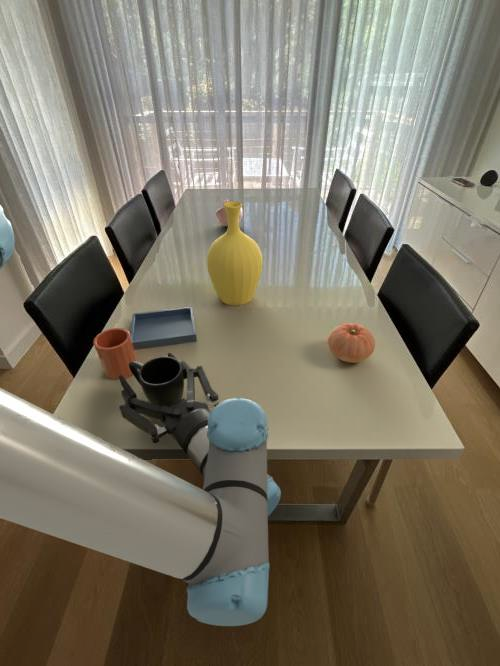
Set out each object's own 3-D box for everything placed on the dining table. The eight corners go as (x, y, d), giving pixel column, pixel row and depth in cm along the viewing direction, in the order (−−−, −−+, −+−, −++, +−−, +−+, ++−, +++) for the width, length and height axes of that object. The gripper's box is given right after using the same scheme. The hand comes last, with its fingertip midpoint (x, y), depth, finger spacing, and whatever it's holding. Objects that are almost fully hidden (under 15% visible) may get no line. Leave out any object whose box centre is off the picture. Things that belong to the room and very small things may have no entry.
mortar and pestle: (234, 220, 161) (233, 194, 154) (247, 227, 153) (247, 201, 146) (211, 224, 156) (210, 199, 149) (224, 232, 147) (223, 206, 141)
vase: (231, 279, 114) (227, 192, 97) (271, 293, 106) (275, 201, 89) (199, 300, 103) (188, 206, 86) (241, 317, 96) (239, 218, 79)
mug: (152, 378, 77) (143, 346, 71) (195, 397, 72) (190, 364, 66) (125, 403, 71) (114, 369, 65) (170, 425, 66) (163, 391, 61)
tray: (131, 350, 85) (129, 343, 83) (134, 320, 95) (132, 313, 94) (197, 341, 87) (196, 334, 86) (192, 313, 98) (192, 306, 96)
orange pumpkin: (380, 356, 82) (387, 329, 77) (353, 377, 77) (360, 350, 72) (343, 335, 89) (348, 310, 84) (316, 353, 83) (320, 327, 78)
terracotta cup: (102, 382, 76) (90, 351, 70) (106, 360, 82) (96, 330, 76) (137, 377, 77) (128, 346, 72) (139, 355, 83) (131, 326, 78)
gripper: (146, 492, 53) (97, 407, 67) (256, 419, 65) (195, 359, 78) (136, 466, 49) (86, 380, 63) (256, 392, 60) (191, 333, 74)
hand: (146, 368), depth 71 cm, fingers open, 10 cm apart
